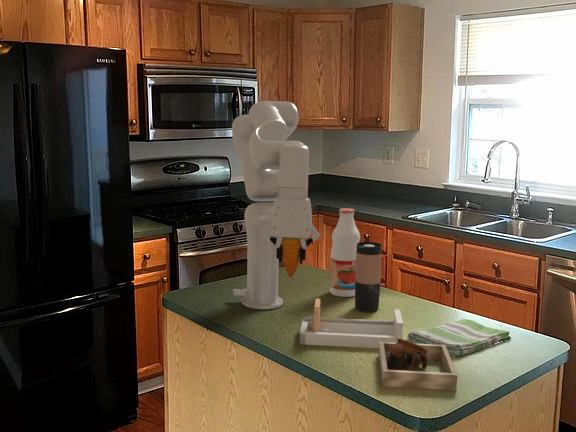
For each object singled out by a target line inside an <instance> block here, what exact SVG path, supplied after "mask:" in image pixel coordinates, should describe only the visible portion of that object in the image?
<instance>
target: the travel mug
mask: <svg viewBox="0 0 576 432" xmlns="http://www.w3.org/2000/svg"><path fill="white" fill-rule="evenodd" d="M382 247H383V245H382V243H379V242H375V241H359V243H357V250H356V272H355V296H354V308H355V310H357V311H359V312H363V313H373V312H374V313H375V312H378V311H379V307H380V295H381V279H382V277H381V276H382V275H381V274H382Z"/></svg>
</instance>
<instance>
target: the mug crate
mask: <svg viewBox="0 0 576 432" xmlns="http://www.w3.org/2000/svg"><path fill="white" fill-rule="evenodd" d="M395 343H396V342H379V348H378V359H379V369H380V376H381V385H382V387H387V388H388V387H389V388H391V387H392V388H407V389H421V390H422V389H423V390H424V389H425V390H442V391H443V390H444V391H457V390H458V389H457V388H458V386H457V385H458V373H457V371H456V368H455V365H454V363H453V361H452V358H451V355H449V353H448V350H447V348H446V345H435V344H420V343H417V342H413V343H414V344H417V345H419V346H421V347H423V348H424V349H426V350H427V351H428V352H427V354H426V357H427V360H433V361H434V360H437V361H440V362H441V364H442V367H443V369H444V372H437V371H436V372H435V371H422V370H421V371H420V370H419V371H417V370H416V371H405V370H404V371H403V370H387V363H386V360H387V358H389V355H390V353H391V351H390V350H391V347H392V346H393V345H394V344H395ZM404 358H407V354H404Z"/></svg>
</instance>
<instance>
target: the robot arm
mask: <svg viewBox="0 0 576 432" xmlns="http://www.w3.org/2000/svg"><path fill="white" fill-rule="evenodd" d="M248 111H249V112H248V114H241V115H239V116H236V117H235V119H234V120H233V122H232V125H231V133H232V135H231V136H232V141H233V144H234V147H235V149H236V152H237V154H238V157H239V159H240V162H241V165H242V172H243V174H242V175H243V180H244V187H245V192H246V195H247V198H248V199H249V200H251V201H253V203H251V204H249V205H248V206H247V207H246V209H245V210H244V221H245V222H244V223H245V229H246V240H247V243H246V245H247V252H246V255H247V261H246V262H247V263H246V264H247V265H246V267H247V271H246V273H247V274H246V275H247V278H246V280H247V281H246V283H247V284H246V285H247V286H246V288H243V289H240V288H233V291H232V293H233V294H232V295H233V296H235V298H242V300H241V305H242V306H244V307H246V308H249V309H253V310H271V309H277V308H279V307H281V306H283V304H284V299H283V298H282V297H280V296H279V264H281V263H282V262H283V249H282V239H283V238H299V239H300V241H301V246H300V257H299V262H298V264H300V265H303V261H306V255H307V254H306V252H307V251H306V250H307V249H308V247H309V246H311V244H312V243H313V242H315V241H317V240H318V239H320V236H321V234H320V233H319V232H318V230H317V229H316V227H315V226H314V224H313V223H312V220H313V219H312V217H313V215H312V212H313V211H312V203H311V198H309V195H308V191H309V162H310V161H309V160H310V150H309V147H308V146H307V145H305V144H304V143H303V142H301V141H299V140H287V139H288V138H289V137H290V136H291V134H293V133H294V131H295V129H297V127H298V124H299V117H300V115H299V111H298V109H297V106H296V105H295V104H294V103H293V102H291V101H279V100H276V101H275V100H261V101H258V102H256V103H253V105H252V106H251V107H250V109H249V110H248Z"/></svg>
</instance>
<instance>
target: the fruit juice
mask: <svg viewBox="0 0 576 432" xmlns="http://www.w3.org/2000/svg"><path fill="white" fill-rule="evenodd" d="M338 213H339V219H338V222H337V224H336V226H335V228H334V229H333V231H332V234H331V241H332V247H331V251H330V267H329V268H330V276H329V277H330V278H329V292H330V294H331V295H333V296H334V297H335V296H336V297H340V298H351V297H355V272H356V250H357V243H359V242H361V241H360V240H361V233H360V231H359V229H358V227H357V225H356V222H355V219H354V216H355V209H354V208H350V207H349V208H348V207H347V208H346V207H344V208H342V207H341V208H339V210H338Z"/></svg>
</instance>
